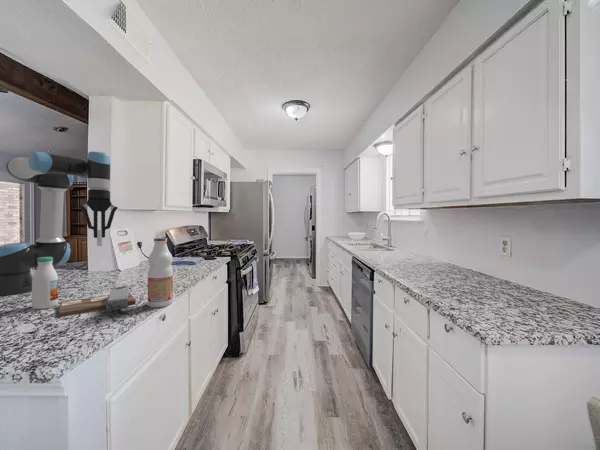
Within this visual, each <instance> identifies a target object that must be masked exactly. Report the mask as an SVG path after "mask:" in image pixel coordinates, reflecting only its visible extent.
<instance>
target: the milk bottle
mask: <svg viewBox="0 0 600 450" xmlns="http://www.w3.org/2000/svg"><path fill="white" fill-rule="evenodd" d="M52 262H53V257H40V258H37V263H38V267H36V270H35V272H34V273H33V275H32V291H31V309H33V310H43V309H45V310H46V309H49V308H50V309H51V308H54V307H56V306H58V305H59V277H58V273H57V271H56V270H55V268H54V266H53V265H52Z"/></svg>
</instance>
